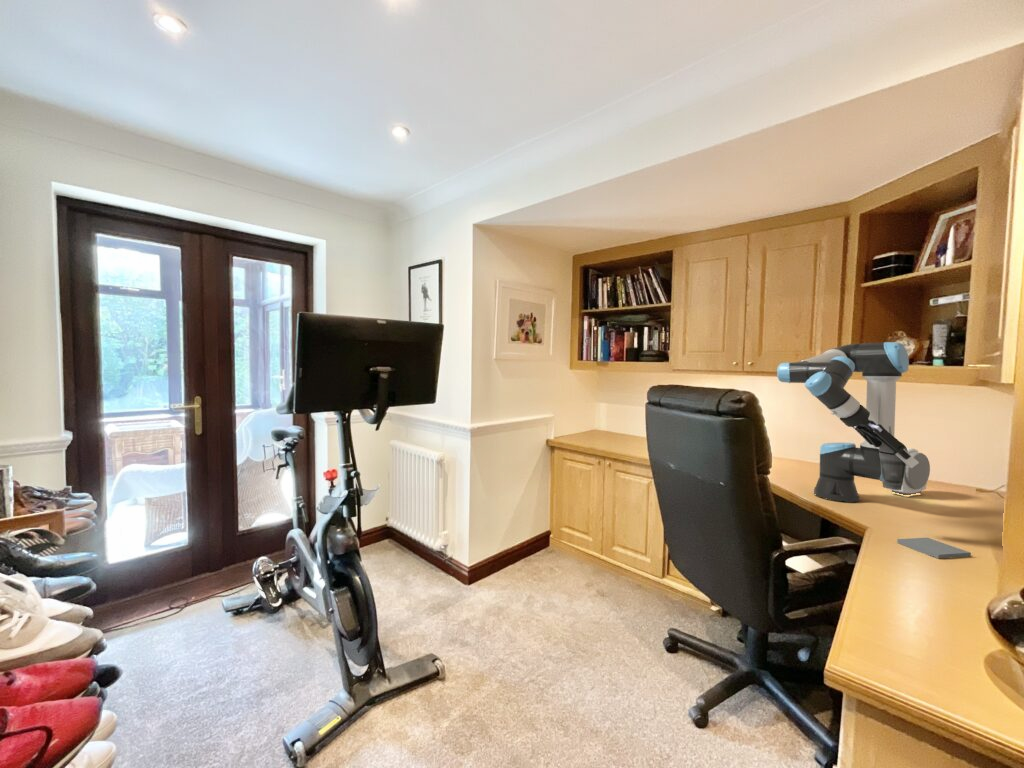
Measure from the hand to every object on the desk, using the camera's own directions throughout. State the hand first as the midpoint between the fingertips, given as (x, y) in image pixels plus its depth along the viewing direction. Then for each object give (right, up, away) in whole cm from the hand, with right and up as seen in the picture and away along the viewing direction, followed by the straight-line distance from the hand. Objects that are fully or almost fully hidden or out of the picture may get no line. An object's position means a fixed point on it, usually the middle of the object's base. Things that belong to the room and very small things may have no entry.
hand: (905, 462), depth 134 cm
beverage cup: (-3, -9, +1) cm, 9 cm away
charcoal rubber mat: (-2, -24, -10) cm, 26 cm away
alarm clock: (+45, -23, +47) cm, 69 cm away
